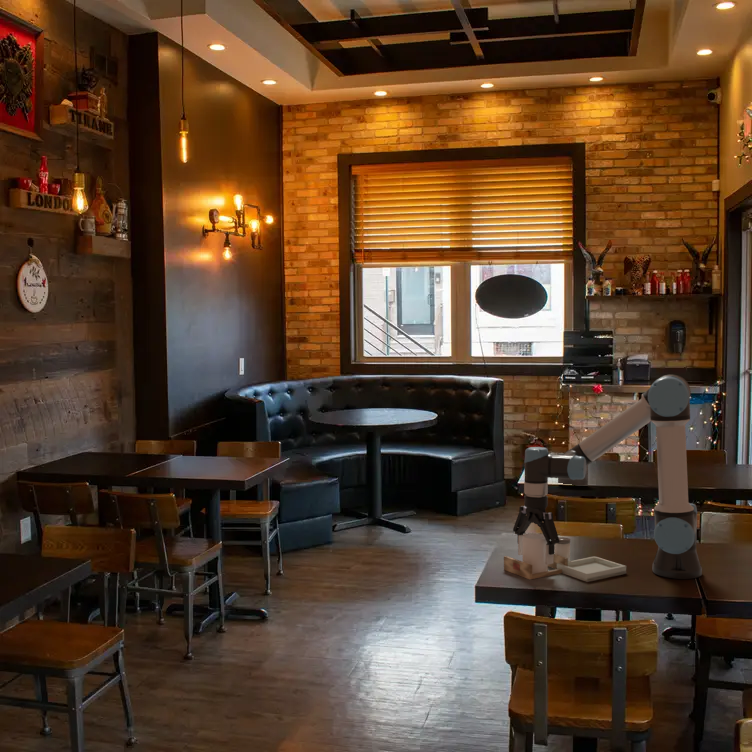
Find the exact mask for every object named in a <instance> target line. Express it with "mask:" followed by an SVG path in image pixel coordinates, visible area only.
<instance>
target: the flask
mask: <svg viewBox="0 0 752 752" xmlns="http://www.w3.org/2000/svg"><path fill="white" fill-rule="evenodd" d="M565 453H566V452H564V453H557V455H564V454H565ZM558 483H563V484H572V485H588V486H589V465H587V466H586V475H585V478H584V479H575V480H572V479H562V478H557V484H558Z"/></svg>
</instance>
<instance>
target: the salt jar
mask: <svg viewBox="0 0 752 752" xmlns="http://www.w3.org/2000/svg"><path fill="white" fill-rule="evenodd" d="M558 537H559V536H558ZM559 541H560V542H559V543H556V544H555V553H554V554H556V555H559V556H562V557H565V558H568V561H571V538H569V537H563V536H562V537H561V536H560V537H559Z"/></svg>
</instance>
